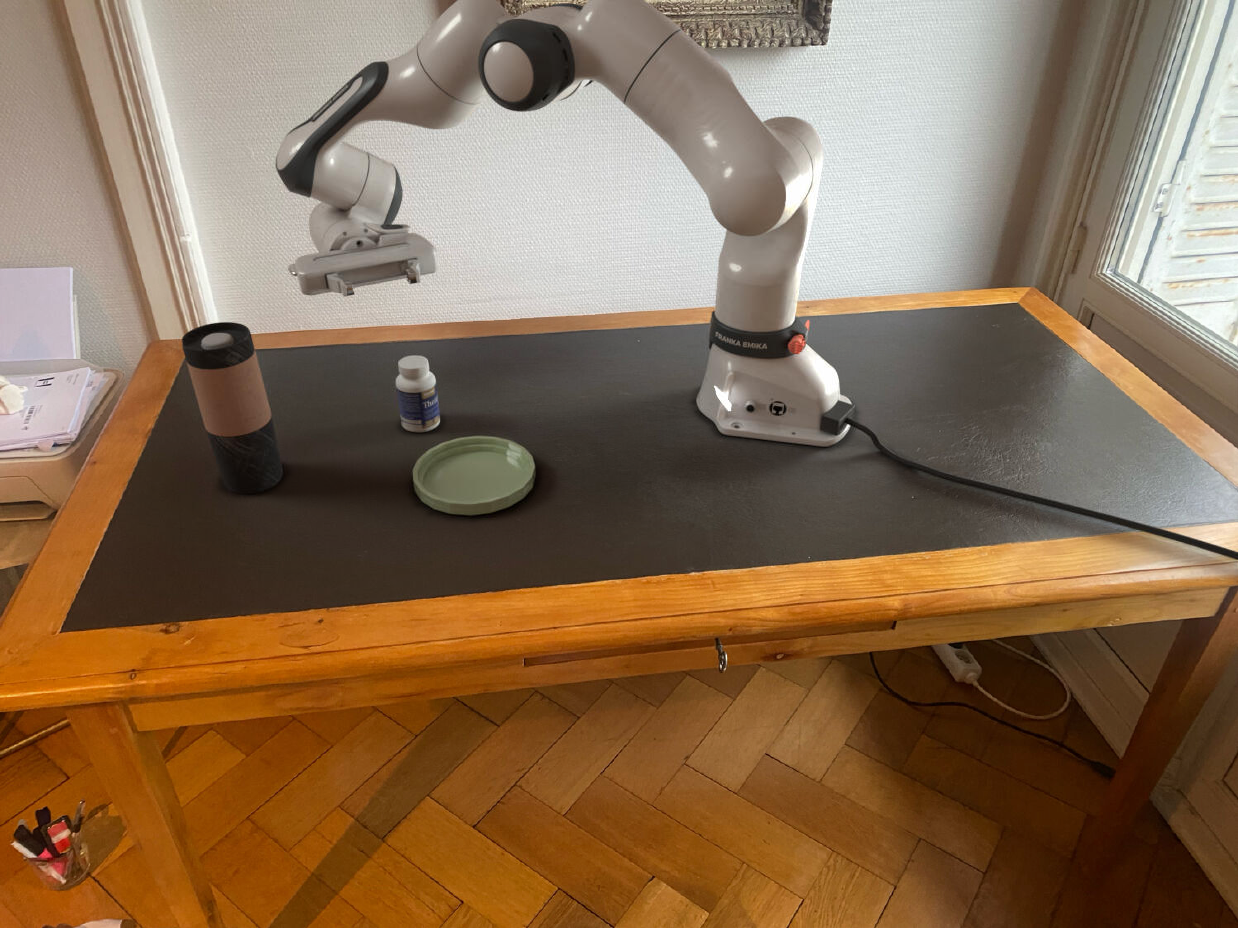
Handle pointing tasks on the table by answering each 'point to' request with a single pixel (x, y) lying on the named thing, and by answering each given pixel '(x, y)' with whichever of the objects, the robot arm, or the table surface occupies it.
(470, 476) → the dish
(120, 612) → the table surface
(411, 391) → the pill bottle
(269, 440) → the travel mug
